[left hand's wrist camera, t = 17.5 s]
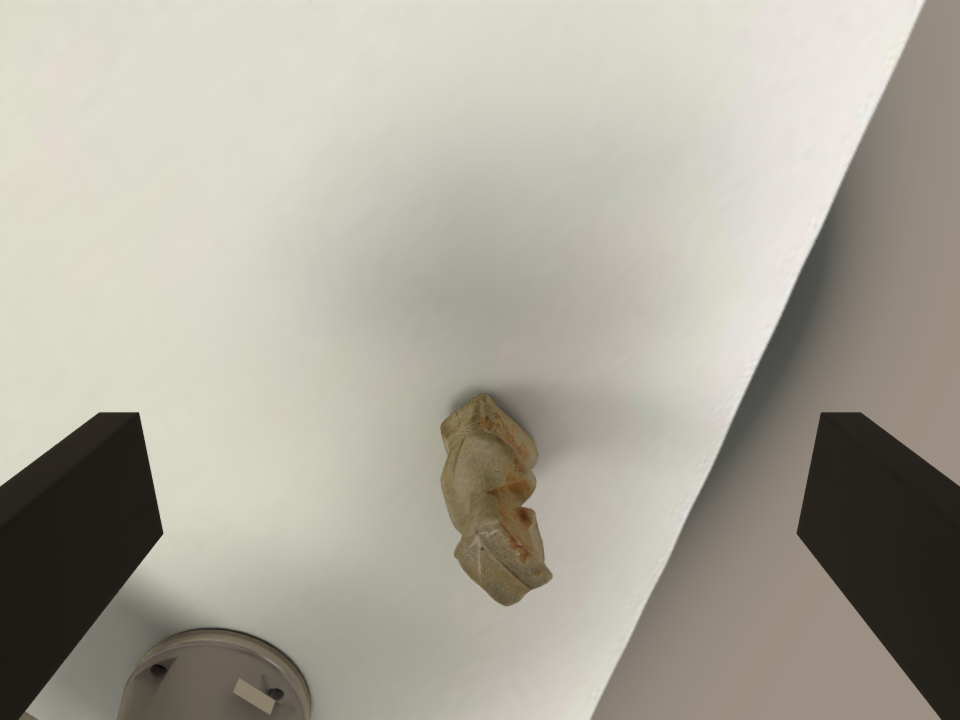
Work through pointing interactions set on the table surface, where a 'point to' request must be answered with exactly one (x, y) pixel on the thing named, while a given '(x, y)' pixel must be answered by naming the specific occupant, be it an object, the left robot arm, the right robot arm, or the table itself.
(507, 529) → the sculpture
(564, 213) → the table surface
